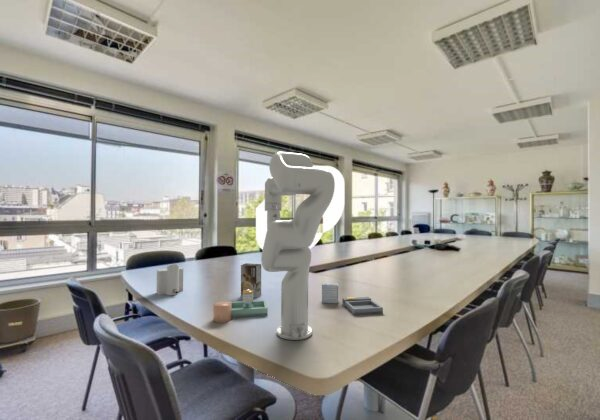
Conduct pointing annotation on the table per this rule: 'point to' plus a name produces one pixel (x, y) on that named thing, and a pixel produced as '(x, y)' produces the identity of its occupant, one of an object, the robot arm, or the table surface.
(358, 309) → the cradle
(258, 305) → the green trapezoid tray
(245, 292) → the cell
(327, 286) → the medicine box
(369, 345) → the table surface
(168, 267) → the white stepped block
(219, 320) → the peach rounded dome
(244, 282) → the coffee box
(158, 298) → the table surface
